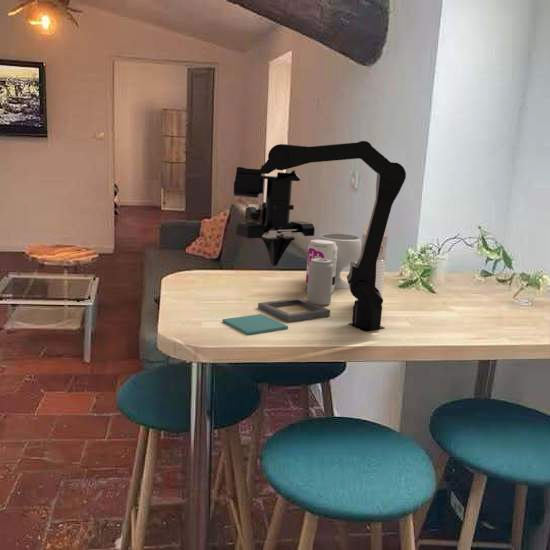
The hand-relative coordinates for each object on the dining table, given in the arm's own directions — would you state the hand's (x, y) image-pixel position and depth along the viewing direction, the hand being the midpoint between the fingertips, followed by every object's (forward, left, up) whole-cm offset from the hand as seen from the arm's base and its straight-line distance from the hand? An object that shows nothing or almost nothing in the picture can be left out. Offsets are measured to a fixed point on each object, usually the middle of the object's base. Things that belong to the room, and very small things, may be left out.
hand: (273, 265), depth 148 cm
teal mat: (-2, +6, -13) cm, 15 cm away
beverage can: (+7, -20, -14) cm, 25 cm away
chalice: (+21, -39, -14) cm, 46 cm away
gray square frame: (+3, -9, -13) cm, 16 cm away
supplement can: (+16, -28, -14) cm, 35 cm away
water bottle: (0, -32, -14) cm, 35 cm away
